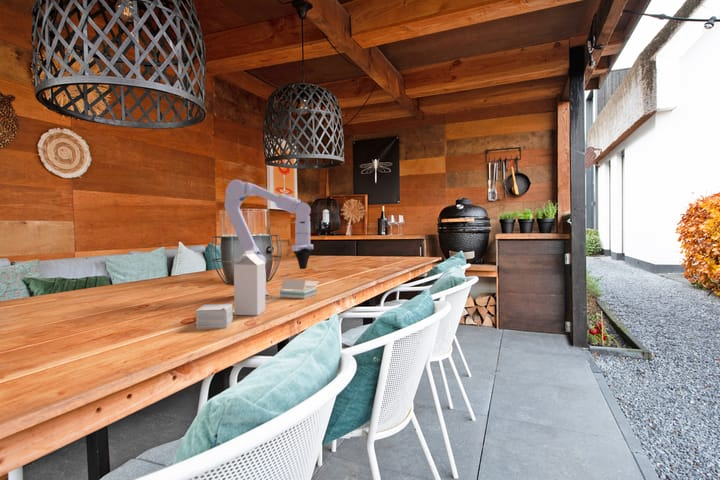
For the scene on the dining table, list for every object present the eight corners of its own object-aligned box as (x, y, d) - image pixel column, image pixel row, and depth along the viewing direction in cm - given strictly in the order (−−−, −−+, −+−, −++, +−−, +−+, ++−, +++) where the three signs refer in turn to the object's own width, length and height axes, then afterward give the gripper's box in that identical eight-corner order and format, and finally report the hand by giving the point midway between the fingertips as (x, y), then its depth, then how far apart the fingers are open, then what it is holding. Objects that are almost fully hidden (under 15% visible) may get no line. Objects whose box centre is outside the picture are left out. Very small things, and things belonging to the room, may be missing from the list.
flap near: (281, 289, 148) (284, 278, 150) (303, 290, 145) (305, 279, 147) (281, 288, 148) (283, 278, 149) (303, 289, 145) (305, 279, 146)
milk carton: (265, 310, 124) (265, 249, 123) (257, 316, 117) (256, 251, 116) (243, 310, 125) (242, 249, 124) (234, 315, 118) (233, 251, 117)
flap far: (315, 286, 154) (319, 281, 157) (294, 284, 157) (298, 280, 160) (315, 286, 154) (319, 282, 158) (294, 285, 157) (299, 281, 161)
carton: (304, 298, 144) (304, 291, 144) (279, 297, 148) (279, 290, 148) (316, 294, 154) (316, 287, 154) (293, 292, 157) (293, 286, 157)
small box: (204, 322, 110) (203, 303, 110) (233, 321, 111) (233, 303, 111) (195, 329, 102) (195, 309, 102) (227, 328, 103) (226, 309, 103)
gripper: (303, 234, 146) (303, 271, 146) (320, 233, 159) (320, 267, 160) (286, 233, 148) (286, 270, 148) (304, 233, 162) (304, 266, 162)
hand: (302, 268), depth 154 cm, fingers closed
